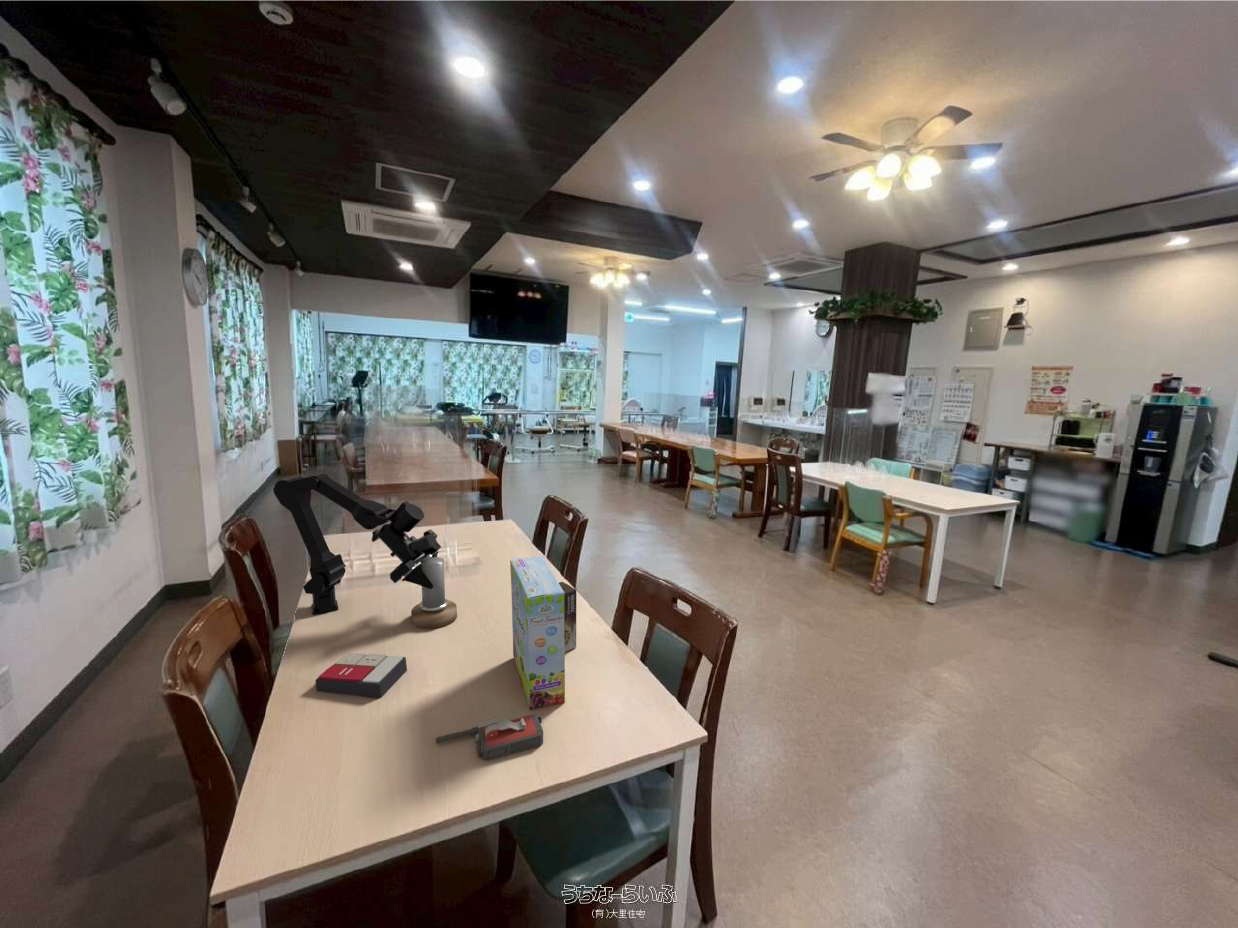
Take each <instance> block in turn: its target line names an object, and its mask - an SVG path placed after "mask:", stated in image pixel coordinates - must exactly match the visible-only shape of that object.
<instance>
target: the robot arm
mask: <svg viewBox="0 0 1238 928" xmlns="http://www.w3.org/2000/svg"><path fill="white" fill-rule="evenodd" d="M272 490H273V494H274V496H275V497H276V499H277V500H278V502H279V503H280V505H281V506H283V508H286V509H287V510H288V511H289V512H290V513H291V516H292V518H293V520H294V523H295V525H296V527H297V530H298V531H299V534H300V537H301V538H302V541H303V543H304V546H305V548H306V550H307V552H308V553H307V554H308V555H309V558H310V561H309V575H310V579H309V580H308V581H307V582H306V583H305V584H304V585H302V586H303V590H304V592H305V594H308V595H309V594H310V595H312V604H311V614H312V615H318V614H323V613H327V612H333V611H338V610H339V604H338V600H337V599H336V587H335V586H337V585H338V584H340V583H341V582H342V579H343V577H344V576H345V573H346V568H345V567H347V565H346V564H345V563H344V560H343V558H342V555H341V554H340V553H338V554H336V555H335V554H334V553H333V552H331V550H330V549H329V546H328V544H327V541H326V540H325V537H324V534H323V532H322V529H321V527H320V525H319V522H318V520H317V518H316V516H315V513H314V511H313V509H312V507H311V500H312V490H313V491H315V492H317V493H318V494H319V495H321V496H323V497H325V498H326V499H328V500H330V501H332V503H334V504H336V505H337V506H340V507H341V508H342V509H344V510H345V511H347V512H349V514H351V516H352V519H353V520H354V521H355V522H356V523H357V524H359V525H360V526H361V527H362V528H363V529H365V530H373V531H372V533H371V534H372V536H371V542H373V543H375V542H376V541H378V540H380V541H381V542H382V543H384V545H385V546H387V548H388V549H389V550H390V551H391V553H390V554H389V556H391V557H392V558H394V557H397V558H398V559H399V561H400V564H398V565H397V566H396V567H395V568H394V569H393V570H392V571H391V572H390V573H389V580H391V581H392V582H393V583H394V584H397V582H399V581H402V582H404V581H405V582H408V583H410V584H411V583H412V584H415V585H418V586H421V587H422V586H423V587H426V588H429V589H432V588H433V587H434V586H433V585H432V583H431V582H430V580H429V579H428V578H427V577H426V575H425V574H424V573H423V572H422V568H421V561H422V560H424V559H426V558H431V557H438V554H439V550H440V549H441V548H442V546H441V544H439V543H438V541H437V538H438V534H437V533H436V532H434V530H432V529H427V530H426V531H424V532H423V536H421V537H419V538H416V536H414V535H411V536H409V535H408V534H407V533H410V532H411V531H412V530H413V529H414V528H416V526H417V525H418V524H419V523H420V522H421V521H422V520H423V519H424V518H425V514H424V513H425V512H424V511H423V510H422V508H420V506H419V507H418V506H417V505H416V504H414V503H409V501H408V500H406V501H403V502H402V503H401V504H400V505H399V507H398V508H397V509H393V508H389V507H387V506H386V505H384V504H383V503H380V502H378V501H375V500H370V499H366V498H363V497H361V496H359V495H358V494H356V493H355V492H353V491H352V490H350V489H348V488H347V487H345V486H344V485H341V484H340V483H339V482H337V481H335V480H334V479H332V478H330V477H329V475H328V474H326V473H324V472H320V473H317V474H312V475H309V476H306V477H303V476H300V475H294V476H291V477H287V478H284V479H280V480H277V482H276V483H275V484H274V487H273V489H272ZM389 522H390V523H389ZM380 526H381V527H380ZM378 527H380V528H379V529H376V528H378ZM374 529H375V530H374Z"/></svg>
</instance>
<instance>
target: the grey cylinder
mask: <svg viewBox="0 0 1238 928" xmlns="http://www.w3.org/2000/svg"><path fill="white" fill-rule="evenodd" d="M420 564H421V568H422V572H423V573H424V574H425V575H426V577H427V578H428V579H429V580H430V582H431V583H432V585H433V586H434V587H433V588H432V589H429V588H426V587H423V586H421V602H420V603H418V604H419V608H420V609H421V610H423V611H438V610H441V609H444V608H445V607H447V606H448V600H449V599H447V598H446V589H445V587H446V584H445V582H446V581H445V578H446V577H445V559H444V558H443V557H438V556H437V557H431V558H426V559H424V560H422V561H421V562H420Z"/></svg>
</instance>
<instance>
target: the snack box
mask: <svg viewBox="0 0 1238 928" xmlns="http://www.w3.org/2000/svg"><path fill="white" fill-rule="evenodd" d="M509 563H510V565H509V566H510V567H509V569H510V585H511V591H510V592H511V612H512V613H511V618H512V619H511V620H512V621H511V623H512V625H511V626H512V654H513V655H512V656H513V659H514V662H515V665H516V668H517V671H518V674H519V678H520V681H521V684H522V688H523V691H524V694H525V698H526V701H527V705H528V708H529V710H534V709H535V710H536V709H539V708H544V707H549V706H552V705H558V704H564V703H566V683H565V682H566V678H565V677H566V672H565V671H566V668H565V667H566V666H565V664H566V663H565V660H566V659H565V658H566V655H565V653H566V652H565V593H564V591H563V590H562V588H561V586H560V585H559V582H558V580H557V578H556V576H555V575H554V574H553V572H552V570H551V568H550V567H549V565H548V564H547V562H546V560H545V559H544V557H543V556H542V555H539V556H533V557H520V558H513V559H510V560H509Z"/></svg>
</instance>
